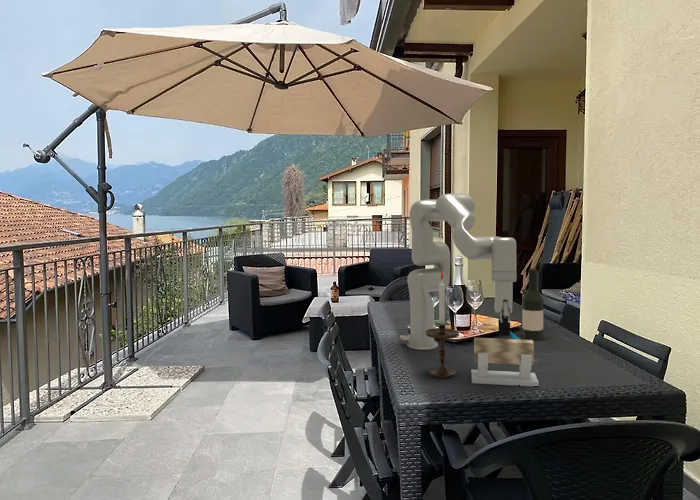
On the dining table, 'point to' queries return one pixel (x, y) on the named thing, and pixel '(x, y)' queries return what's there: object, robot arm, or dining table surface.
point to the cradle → (504, 373)
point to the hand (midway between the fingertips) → (504, 332)
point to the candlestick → (442, 337)
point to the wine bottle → (532, 310)
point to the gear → (514, 336)
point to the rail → (503, 350)
